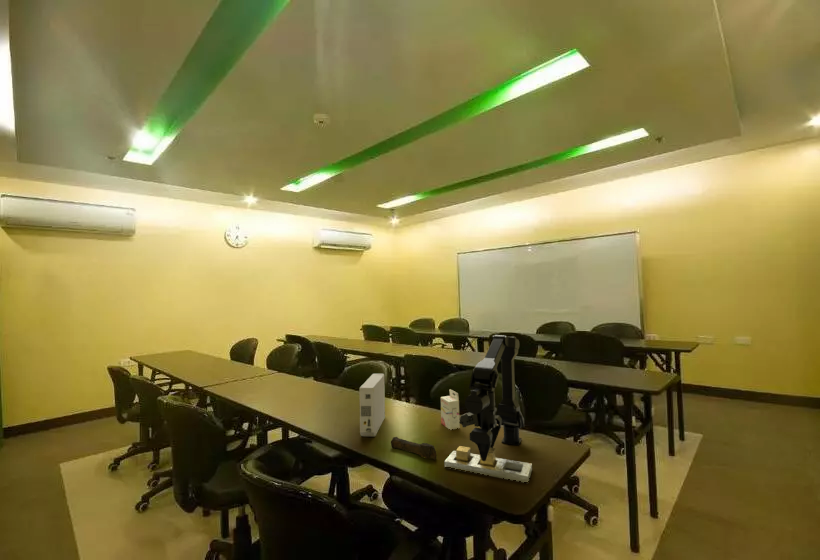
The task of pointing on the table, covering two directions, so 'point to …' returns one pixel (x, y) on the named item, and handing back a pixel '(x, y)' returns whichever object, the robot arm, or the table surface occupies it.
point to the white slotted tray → (472, 463)
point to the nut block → (489, 459)
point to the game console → (372, 405)
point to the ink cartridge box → (450, 411)
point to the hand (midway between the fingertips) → (487, 454)
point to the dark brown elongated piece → (414, 447)
